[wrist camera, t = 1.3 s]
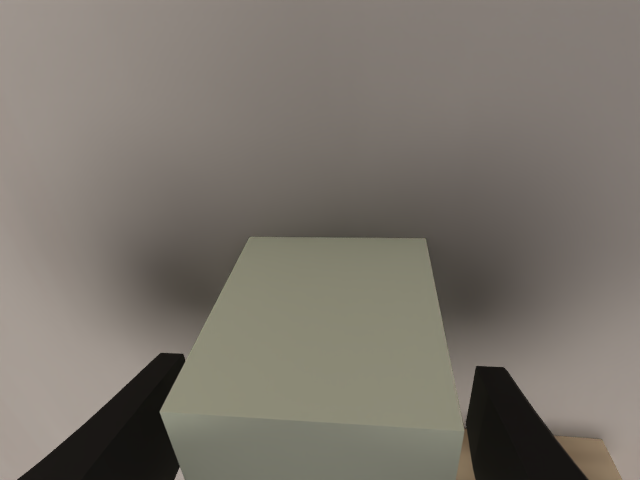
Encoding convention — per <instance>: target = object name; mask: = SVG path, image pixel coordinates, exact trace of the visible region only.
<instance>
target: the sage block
mask: <svg viewBox="0 0 640 480" xmlns="http://www.w3.org/2000/svg"><path fill="white" fill-rule="evenodd" d="M160 415H161V417H162V420H163V423H164V425H165V428H166V431H167V433H168V436H169V439H170V441H171V444H172V447H173V449H174V452H175V455H176V457H177V460H178V463H179V465H180V468H181V470H182V473H183V476H184V478H185V480H456V476H457V470H458V464H459V459H460V453H461V448H462V442H463V437H464V426H463V421H462V416H461V411H460V406H459V401H458V396H457V391H456V386H455V381H454V376H453V372H452V367H451V362H450V357H449V352H448V347H447V342H446V337H445V332H444V327H443V322H442V317H441V312H440V307H439V302H438V297H437V292H436V287H435V282H434V277H433V272H432V267H431V262H430V257H429V252H428V247H427V242H426V238H329V237H249V239H248V241H247V243H246V245H245V246H244V248H243V250H242V252H241V254H240V256H239V258H238V260H237V262H236V264H235V266H234V268H233V270H232V272H231V274H230V276H229V278H228V280H227V281H226V283H225V285H224V287H223V289H222V291H221V293H220V295H219V297H218V299H217V301H216V303H215V305H214V307H213V309H212V311H211V313H210V315H209V316H208V318H207V320H206V322H205V324H204V326H203V328H202V330H201V332H200V334H199V336H198V338H197V340H196V342H195V344H194V346H193V348H192V350H191V351H190V353H189V355H188V357H187V359H186V361H185V363H184V365H183V367H182V369H181V371H180V373H179V375H178V377H177V379H176V381H175V383H174V385H173V386H172V388H171V390H170V392H169V394H168V396H167V398H166V400H165V402H164V404H163V406H162V408H161V410H160Z"/></svg>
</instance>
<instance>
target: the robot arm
mask: <svg viewBox="0 0 640 480" xmlns="http://www.w3.org/2000/svg"><path fill="white" fill-rule="evenodd" d="M184 363H185V358H184V355H183V354H173V353H160V354H159V355H158V356H157V357H156V358H155V359H154V360H152V361H151V362H150V363H149V364H148V365H147V366H146V367H145V368H144V369H143V370H142V371H141V372H140V373H139V374H138V375H137V376H135V377H134V378H133V379H132V380H131V381H130V382H129V383H128V384H127V385H126V386H125V387H124V388H123V389H122V390H121V391H120V392H118V393H117V394H116V395H115V396H114V397H113V398H112V399H111V400H110V401H109V402H108V403H107V404H106V405H104V406H103V407H102V408H101V409H100V410H99V411H98V412H97V413H96V414H95V415H94V416H92V417H91V418H90V419H89V420H88V421H87V422H86V423H85V424H84V425H82V426H81V427H80V428H79V429H78V430H77V431H75V432H74V433H73V434H72V435H71V436H70V437H68V438H67V439H66V440H65V441H64V442H63V443H61V444H60V445H59V446H58V447H57V448H56V449H54V450H53V451H52V452H51V453H50V454H49V455H47V456H46V457H45V458H44V459H43V460H41V461H40V462H39V463H38V464H36V465H35V466H34V467H33V468H31V469H30V470H29V471H28V472H26V473H25V474H24V475H23V476H21V477H20V478H19V479H17V480H174V479H175V477H176V474H177V472H178V470H179V467H180V465H179V463H178V460H177V457H176V455H175V452H174V449H173V447H172V444H171V441H170V439H169V436H168V433H167V431H166V428H165V425H164V423H163V420H162V417H161V415H160V410H161V408H162V406H163V404H164V402H165V400H166V398H167V396H168V394H169V392H170V390H171V388H172V386H173V385H174V383H175V381H176V379H177V377H178V375H179V373H180V371H181V369H182V367H183V365H184ZM466 427H467V434H468V441H469V448H470V454H471V461H472V467H473V471H474V475H475V479H476V480H589V479H588V478H587V477H586V476H585V474H584V473H583V472H582V471H581V470H580V468H579V467H578V466H577V465H576V463H575V462H574V461H573V460H572V458H571V457H570V456H569V455H568V453H567V452H566V451H565V449H564V448H563V447H562V446H561V444H560V443H559V442H558V441H557V439H556V438H555V437H554V435H553V434H552V433H551V431H550V430H549V429H548V428H547V426H546V425H545V424H544V422H543V421H542V419H541V418H540V417H539V415H538V414H537V413H536V411H535V410H534V408H533V407H532V406H531V404H530V403H529V402H528V400H527V399H526V397H525V396H524V394H523V393H522V392H521V390H520V389H519V387H518V386H517V384H516V383H515V381H514V380H513V378H512V377H511V376H510V374H509V373H508V371H507V370H506V369H505V368H504V367H486V366H476V370H475V376H474V381H473V387H472V392H471V398H470V404H469V409H468V415H467V420H466Z"/></svg>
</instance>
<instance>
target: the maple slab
mask: <svg viewBox="0 0 640 480" xmlns="http://www.w3.org/2000/svg"><path fill="white" fill-rule="evenodd" d="M554 437H555V438H556V439H557V441H558V442H559V443H560V444H561V446H562V447H563V448H564V449H565V451H566V452H567V453H568V455H569V456H570V457H571V458H572V460H573V461H574V462H575V463H576V465H577V466H578V467H579V468H580V470H581V471H582V472H583V473H584V474H585V476H586V477H587V478H588V479H589V480H622V478H621V476H620V474H619V472H618V470H617V468H616V466H615V464H614V462H613V460H612V458H611V456H610V454H609V452H608V450H607V448H606V447H605V445H604V443H603V441H602V439H592V438H579V437H567V436H554ZM456 480H476V479H475V475H474V471H473V467H472V461H471V454H470V448H469V441H468V434H467V429H466V428H464V437H463V442H462V448H461V453H460V459H459V464H458V470H457V476H456Z"/></svg>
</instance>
